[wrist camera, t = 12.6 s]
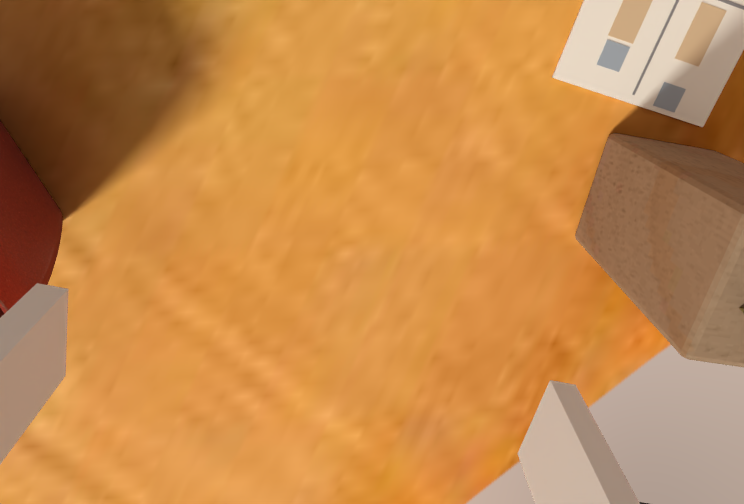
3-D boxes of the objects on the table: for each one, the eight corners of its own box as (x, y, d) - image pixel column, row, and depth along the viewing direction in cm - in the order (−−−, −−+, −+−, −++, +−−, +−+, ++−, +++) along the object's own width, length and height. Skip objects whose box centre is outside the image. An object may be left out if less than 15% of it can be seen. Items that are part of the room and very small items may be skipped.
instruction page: (605, -54, 45) (607, -54, 45) (765, 5, 47) (767, 5, 47) (551, 77, 49) (552, 77, 48) (701, 126, 50) (703, 127, 50)
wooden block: (607, 130, 50) (752, 208, 32) (716, 150, 51) (917, 236, 33) (571, 237, 54) (682, 361, 36) (673, 254, 55) (832, 383, 37)
